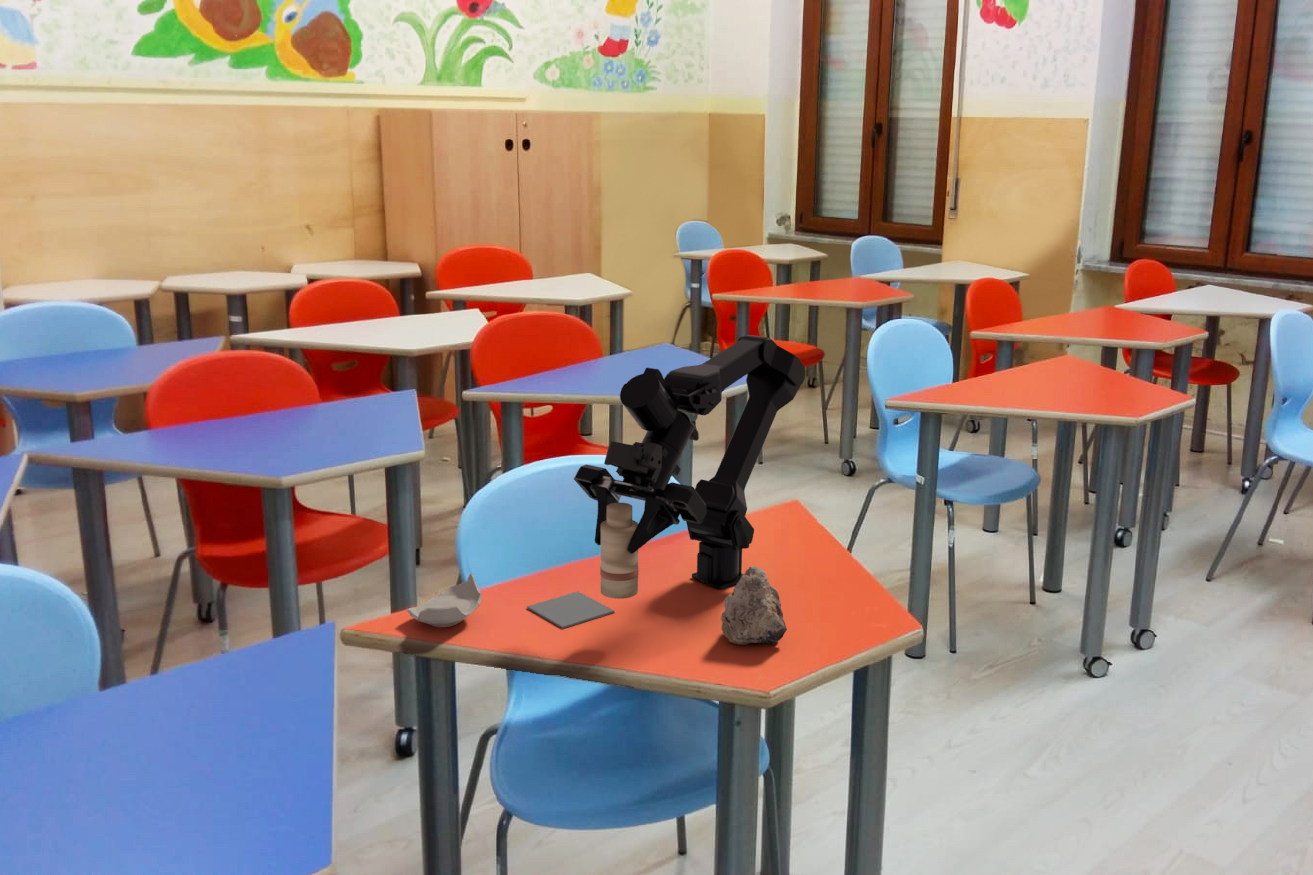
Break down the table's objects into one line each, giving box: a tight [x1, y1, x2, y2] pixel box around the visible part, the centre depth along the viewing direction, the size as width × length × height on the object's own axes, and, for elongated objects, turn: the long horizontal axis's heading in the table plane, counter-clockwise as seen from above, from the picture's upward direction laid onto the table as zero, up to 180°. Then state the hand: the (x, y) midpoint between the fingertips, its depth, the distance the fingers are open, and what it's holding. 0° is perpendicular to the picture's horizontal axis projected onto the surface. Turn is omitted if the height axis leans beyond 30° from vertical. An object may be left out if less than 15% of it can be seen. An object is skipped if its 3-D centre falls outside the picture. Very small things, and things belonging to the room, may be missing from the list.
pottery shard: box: [406, 573, 483, 628], centre depth 155 cm, size 10×11×5 cm
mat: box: [526, 591, 615, 630], centre depth 160 cm, size 9×9×1 cm
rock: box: [720, 565, 788, 646], centre depth 151 cm, size 8×11×9 cm
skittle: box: [599, 502, 639, 600], centre depth 148 cm, size 5×5×12 cm
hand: (613, 547), depth 147 cm, fingers closed on skittle, 5 cm apart
